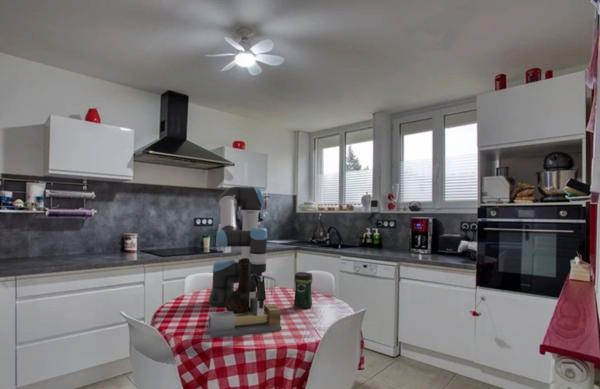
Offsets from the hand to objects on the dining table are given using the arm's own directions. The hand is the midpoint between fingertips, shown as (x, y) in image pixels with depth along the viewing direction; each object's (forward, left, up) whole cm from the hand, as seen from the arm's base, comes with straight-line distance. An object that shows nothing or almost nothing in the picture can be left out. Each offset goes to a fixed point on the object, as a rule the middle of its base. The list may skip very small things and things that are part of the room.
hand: (256, 310), depth 151 cm
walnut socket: (0, +7, -6) cm, 10 cm away
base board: (0, -5, -8) cm, 9 cm away
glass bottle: (-18, -1, -8) cm, 19 cm away
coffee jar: (-24, +33, -8) cm, 41 cm away
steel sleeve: (0, -15, -6) cm, 16 cm away
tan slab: (0, -2, -5) cm, 5 cm away
